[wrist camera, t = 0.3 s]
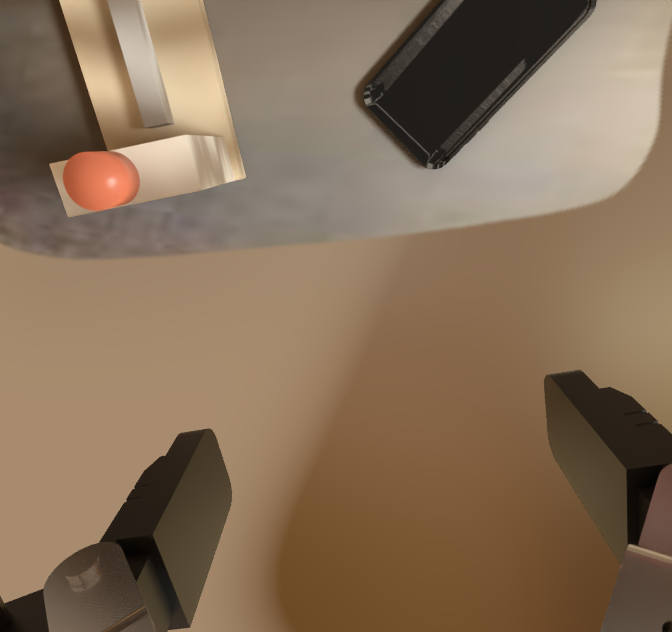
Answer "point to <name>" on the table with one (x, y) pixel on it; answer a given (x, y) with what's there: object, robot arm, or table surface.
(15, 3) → the table surface
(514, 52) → the phone
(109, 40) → the rail base
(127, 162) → the button
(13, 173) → the table surface
